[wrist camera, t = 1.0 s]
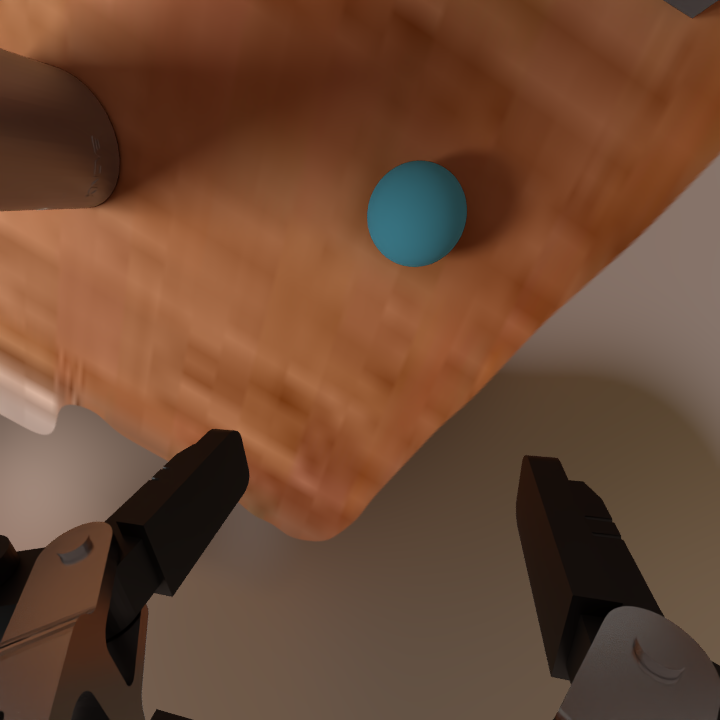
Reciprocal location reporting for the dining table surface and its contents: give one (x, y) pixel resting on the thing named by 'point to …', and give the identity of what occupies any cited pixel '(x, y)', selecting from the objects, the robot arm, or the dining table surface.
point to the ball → (417, 213)
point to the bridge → (691, 6)
